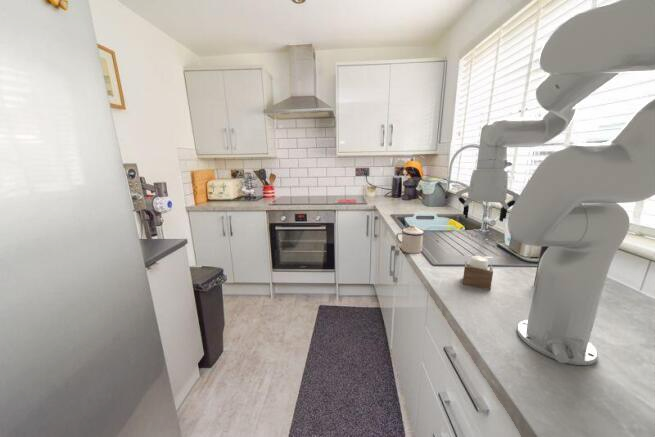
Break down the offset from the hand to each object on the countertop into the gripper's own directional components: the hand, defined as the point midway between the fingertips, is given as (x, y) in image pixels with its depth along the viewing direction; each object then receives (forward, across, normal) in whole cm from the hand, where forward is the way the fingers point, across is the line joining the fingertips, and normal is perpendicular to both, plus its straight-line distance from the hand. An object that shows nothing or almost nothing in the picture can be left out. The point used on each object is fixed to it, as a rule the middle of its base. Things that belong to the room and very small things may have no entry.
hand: (483, 218), depth 79 cm
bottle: (+20, -19, 0) cm, 28 cm away
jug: (+20, 0, +4) cm, 20 cm away
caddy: (+20, 0, +7) cm, 21 cm away
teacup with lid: (+21, +26, -15) cm, 36 cm away
